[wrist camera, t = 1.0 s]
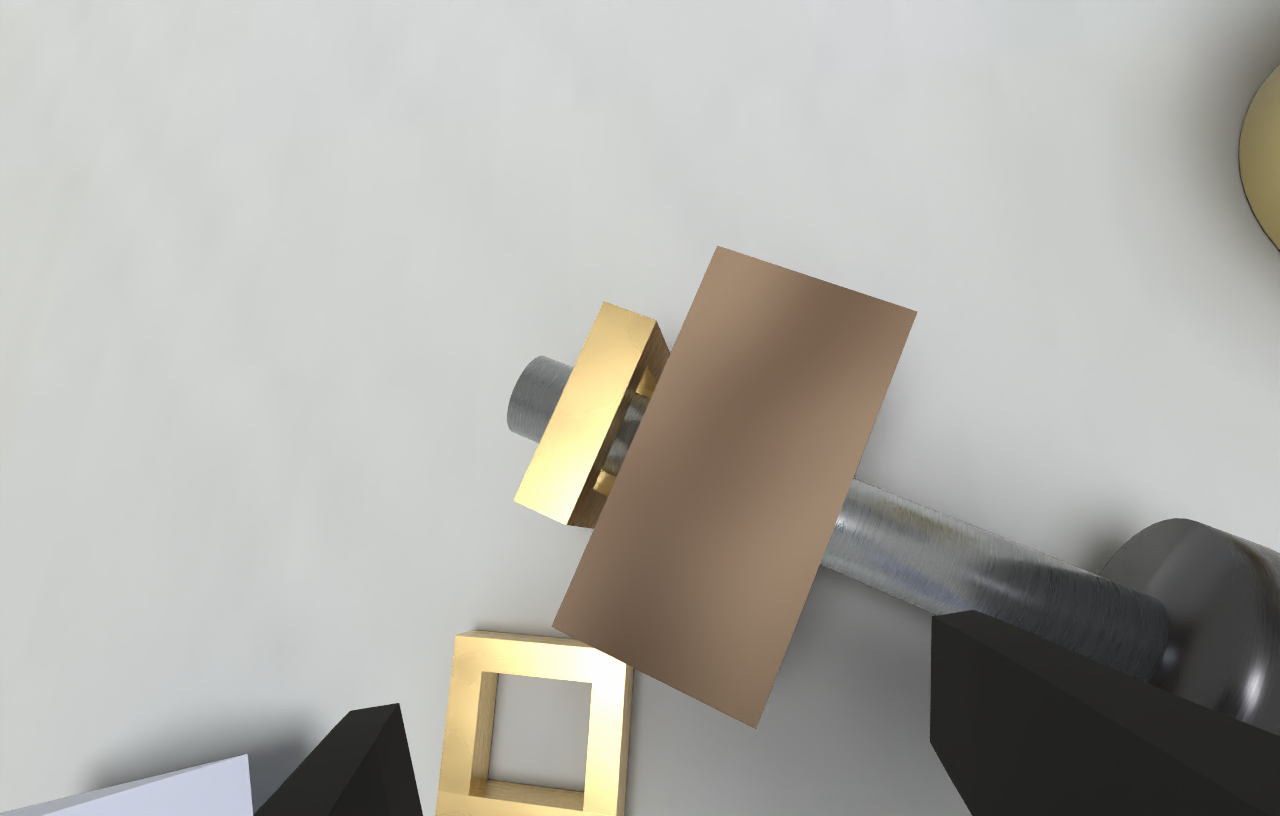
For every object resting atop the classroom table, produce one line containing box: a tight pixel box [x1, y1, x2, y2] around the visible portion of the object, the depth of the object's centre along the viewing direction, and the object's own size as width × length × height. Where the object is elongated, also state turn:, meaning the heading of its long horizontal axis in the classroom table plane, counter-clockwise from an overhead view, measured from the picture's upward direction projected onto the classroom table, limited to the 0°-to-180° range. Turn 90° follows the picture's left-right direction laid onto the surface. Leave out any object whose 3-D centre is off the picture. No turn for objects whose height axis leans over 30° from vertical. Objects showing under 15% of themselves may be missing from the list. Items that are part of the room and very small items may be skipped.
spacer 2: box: [435, 630, 634, 816], centre depth 21 cm, size 6×6×2 cm
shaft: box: [507, 356, 1280, 736], centre depth 18 cm, size 18×6×6 cm, turn 67°
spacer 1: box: [514, 302, 670, 529], centre depth 20 cm, size 2×6×6 cm, turn 156°
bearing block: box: [552, 246, 917, 729], centre depth 19 cm, size 5×10×7 cm, turn 157°
